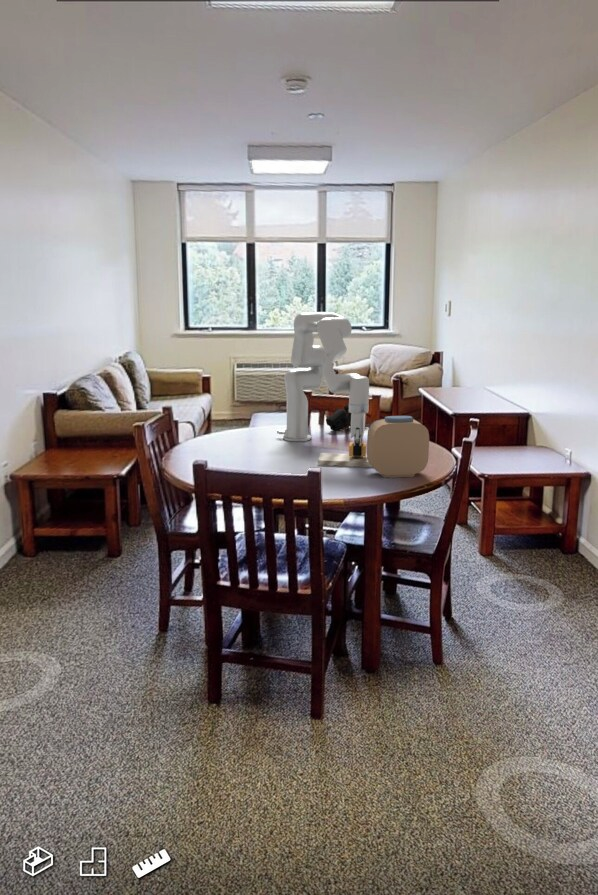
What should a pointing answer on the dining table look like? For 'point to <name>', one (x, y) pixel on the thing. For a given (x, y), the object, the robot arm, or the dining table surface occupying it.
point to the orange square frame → (363, 452)
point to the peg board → (343, 460)
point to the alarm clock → (398, 446)
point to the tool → (340, 419)
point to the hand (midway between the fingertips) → (357, 453)
